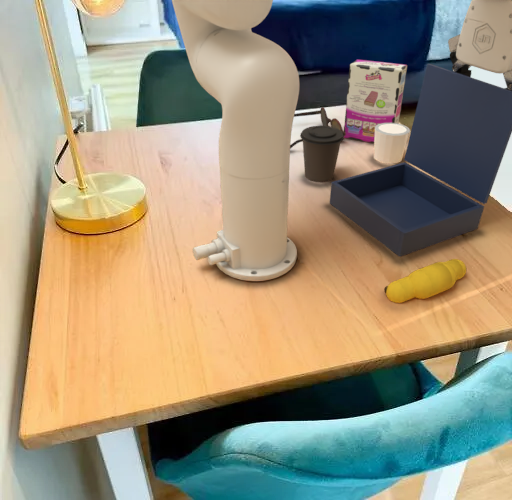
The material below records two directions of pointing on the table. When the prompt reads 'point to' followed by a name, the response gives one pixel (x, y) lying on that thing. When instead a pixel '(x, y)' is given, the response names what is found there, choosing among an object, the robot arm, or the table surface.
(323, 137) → the coffee cup
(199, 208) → the table surface
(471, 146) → the lid
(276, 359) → the table surface
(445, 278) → the yellow lobed rod
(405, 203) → the blue shallow open box
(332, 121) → the eyeglasses
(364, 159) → the table surface
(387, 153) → the white short cylinder
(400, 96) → the candy bar box
